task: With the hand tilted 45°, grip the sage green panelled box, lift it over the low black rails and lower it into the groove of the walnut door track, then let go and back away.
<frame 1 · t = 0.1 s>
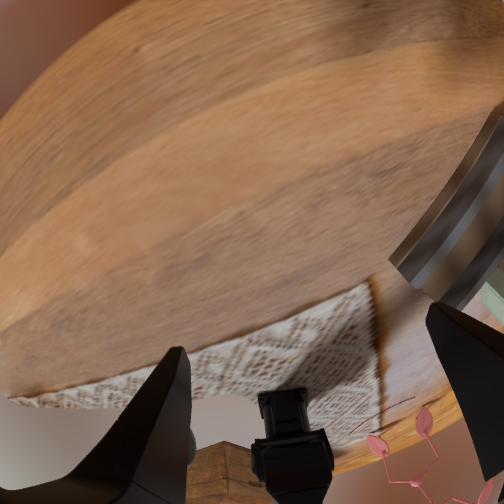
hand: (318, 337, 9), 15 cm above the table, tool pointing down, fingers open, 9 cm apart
door track: (470, 212, 24), on the table
wooden box: (249, 465, 49), on the table
sage green panelled box: (488, 283, 29), on the table
pink leafy branch: (395, 417, 44), on the table
ceramic mug: (171, 427, 39), on the table
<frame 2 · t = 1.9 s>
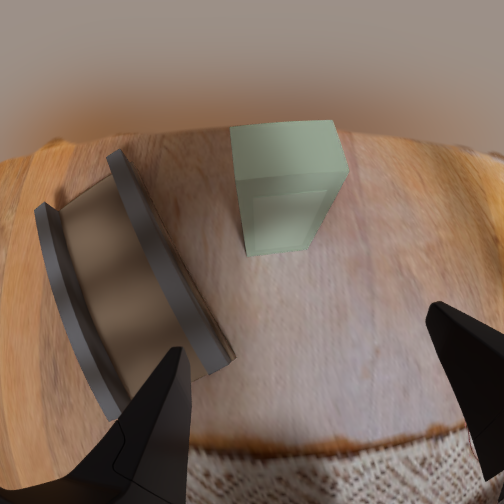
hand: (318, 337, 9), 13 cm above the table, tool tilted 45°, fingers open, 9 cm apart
door track: (124, 283, 23), on the table
sage green panelled box: (274, 236, 24), on the table
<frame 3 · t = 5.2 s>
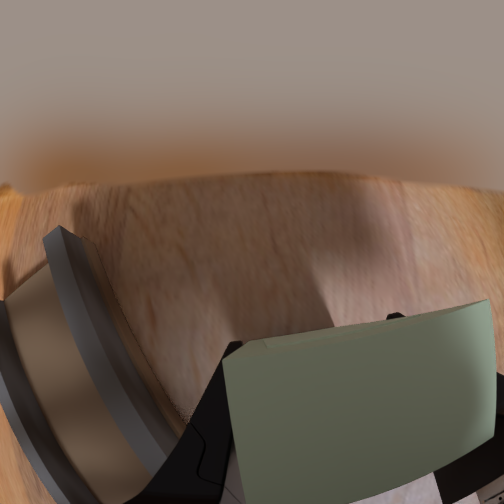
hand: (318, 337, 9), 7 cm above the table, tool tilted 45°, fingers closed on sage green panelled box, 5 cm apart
door track: (94, 410, 15), on the table
sage green panelled box: (296, 359, 16), on the table, touching gripper
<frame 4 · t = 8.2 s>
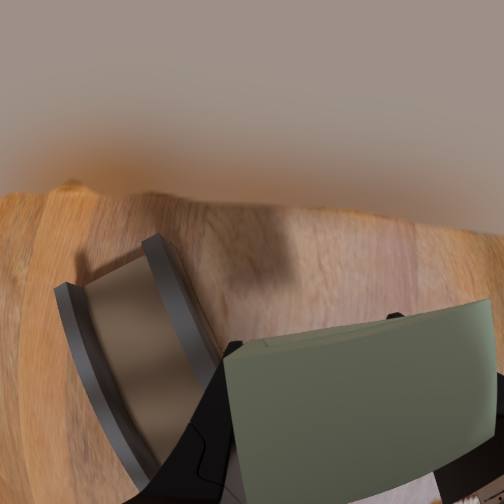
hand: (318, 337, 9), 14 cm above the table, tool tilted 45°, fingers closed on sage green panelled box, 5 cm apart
door track: (164, 381, 21), on the table
sage green panelled box: (297, 359, 16), point 6 cm above the table, touching gripper
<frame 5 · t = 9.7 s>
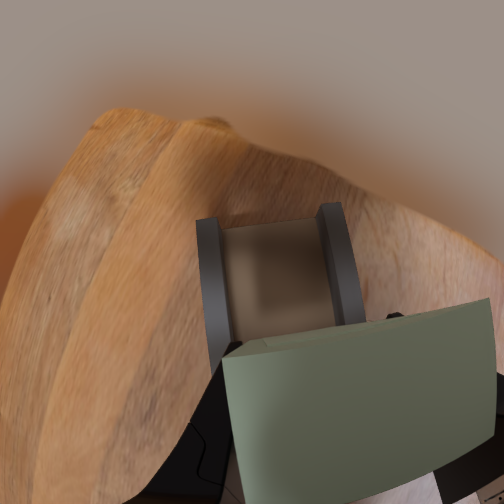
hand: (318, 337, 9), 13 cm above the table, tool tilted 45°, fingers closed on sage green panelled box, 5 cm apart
door track: (286, 352, 21), on the table
sage green panelled box: (296, 359, 16), point 6 cm above the table, touching gripper
when the fingers open (10 cm above the table, at t = 11.2 s): sage green panelled box stays where it is, resting on door track.
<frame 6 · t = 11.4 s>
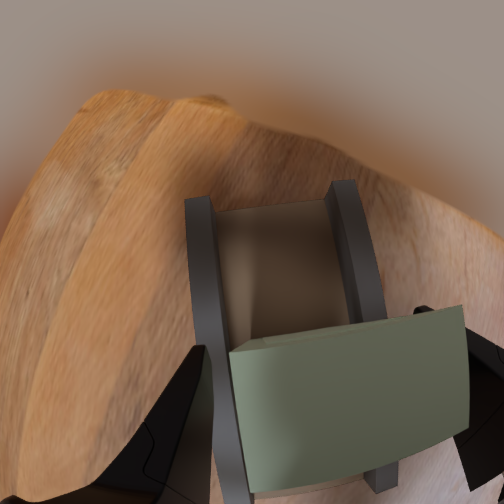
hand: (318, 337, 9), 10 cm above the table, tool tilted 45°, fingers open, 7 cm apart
door track: (291, 356, 18), on the table
sage green panelled box: (294, 357, 17), point 1 cm above the table, touching door track
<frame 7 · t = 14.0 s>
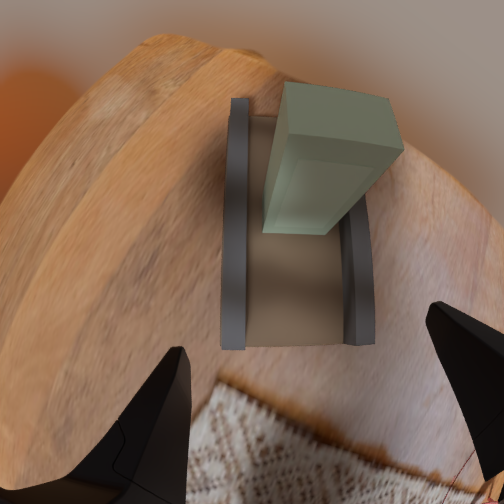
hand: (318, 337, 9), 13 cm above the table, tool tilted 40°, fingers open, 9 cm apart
door track: (290, 222, 24), on the table
sage green panelled box: (293, 215, 23), point 1 cm above the table, touching door track
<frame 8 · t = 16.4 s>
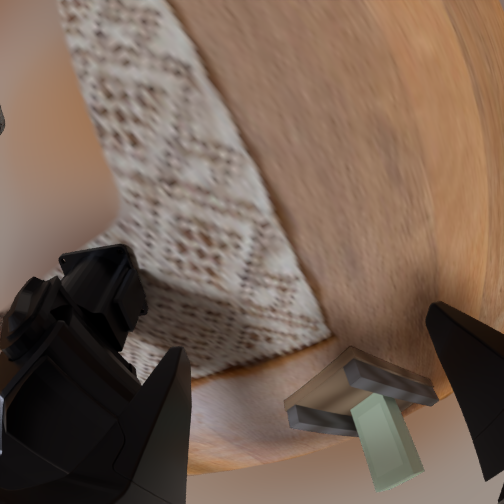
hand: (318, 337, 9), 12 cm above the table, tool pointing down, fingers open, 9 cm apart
door track: (367, 392, 32), on the table
sage green panelled box: (371, 401, 31), point 1 cm above the table, touching door track
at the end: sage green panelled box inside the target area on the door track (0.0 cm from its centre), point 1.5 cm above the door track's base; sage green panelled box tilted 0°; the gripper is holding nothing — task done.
